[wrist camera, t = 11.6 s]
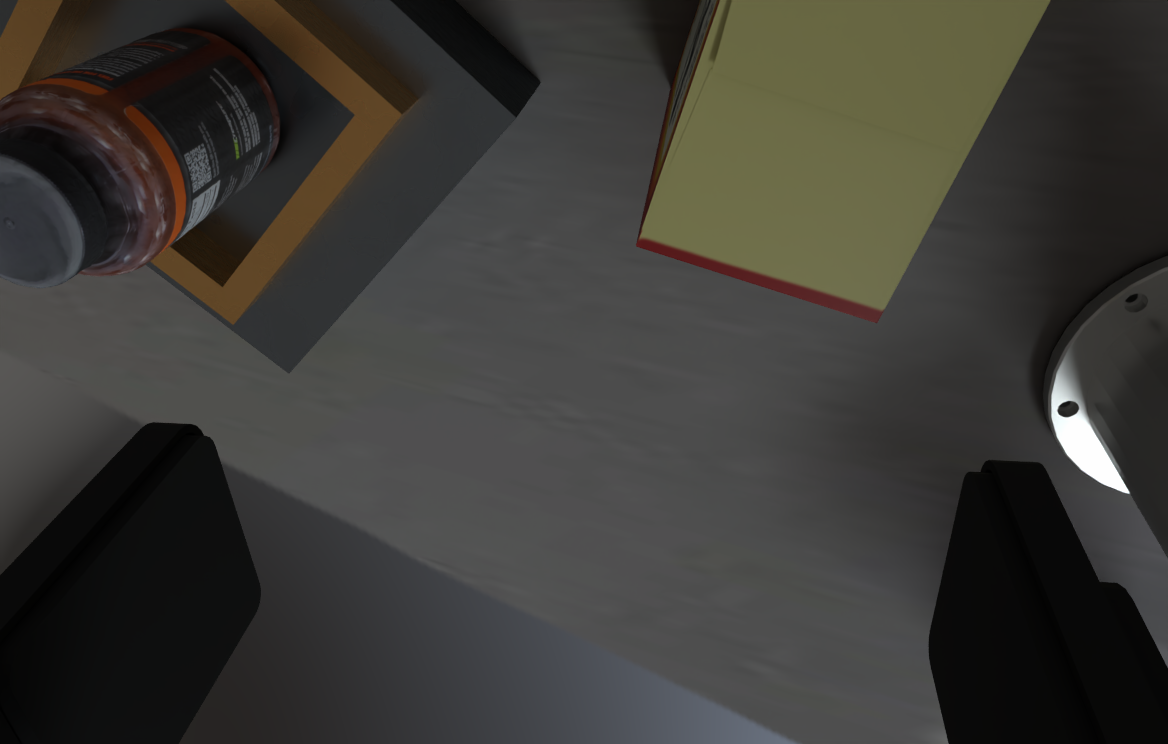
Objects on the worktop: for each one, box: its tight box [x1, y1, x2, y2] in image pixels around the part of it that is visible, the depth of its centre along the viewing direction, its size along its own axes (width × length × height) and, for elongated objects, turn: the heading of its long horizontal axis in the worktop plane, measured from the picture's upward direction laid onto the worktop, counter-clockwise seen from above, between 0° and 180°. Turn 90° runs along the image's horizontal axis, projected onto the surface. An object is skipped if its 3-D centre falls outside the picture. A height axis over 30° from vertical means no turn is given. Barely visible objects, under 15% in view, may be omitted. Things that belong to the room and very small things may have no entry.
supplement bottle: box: [0, 28, 280, 288], centre depth 29 cm, size 6×6×11 cm
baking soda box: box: [636, 0, 1051, 323], centre depth 27 cm, size 10×6×16 cm
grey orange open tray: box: [0, 0, 541, 373], centre depth 34 cm, size 22×16×7 cm
